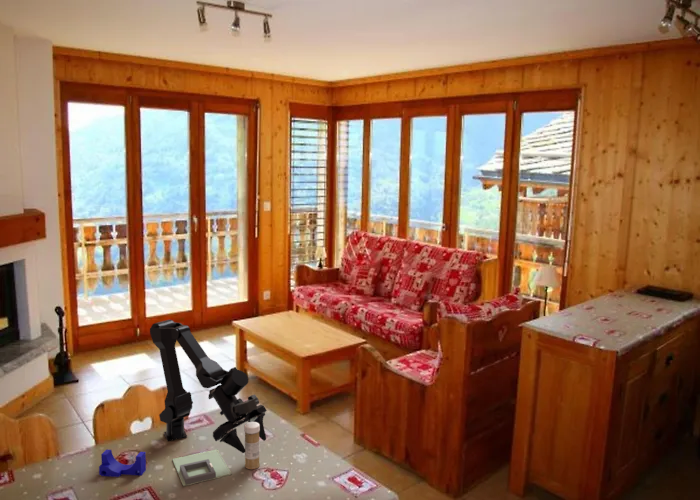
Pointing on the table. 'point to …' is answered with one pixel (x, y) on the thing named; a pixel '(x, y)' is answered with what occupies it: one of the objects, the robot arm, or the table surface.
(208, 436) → the table surface
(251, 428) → the sprinkles bottle
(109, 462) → the cable clip
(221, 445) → the table surface
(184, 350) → the robot arm
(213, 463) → the board
